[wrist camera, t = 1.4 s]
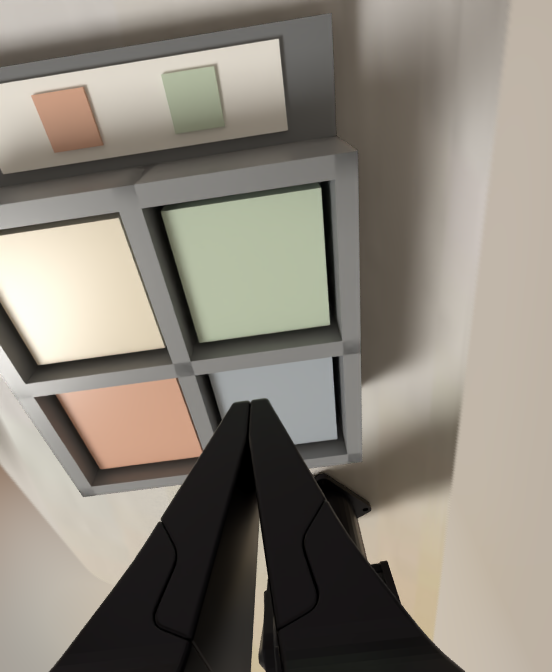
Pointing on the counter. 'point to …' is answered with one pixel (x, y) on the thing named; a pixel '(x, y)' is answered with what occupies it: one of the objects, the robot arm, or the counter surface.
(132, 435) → the terracotta key
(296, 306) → the sage key
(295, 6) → the counter surface
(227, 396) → the slate key
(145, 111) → the grey compartment tray
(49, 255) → the sand key
